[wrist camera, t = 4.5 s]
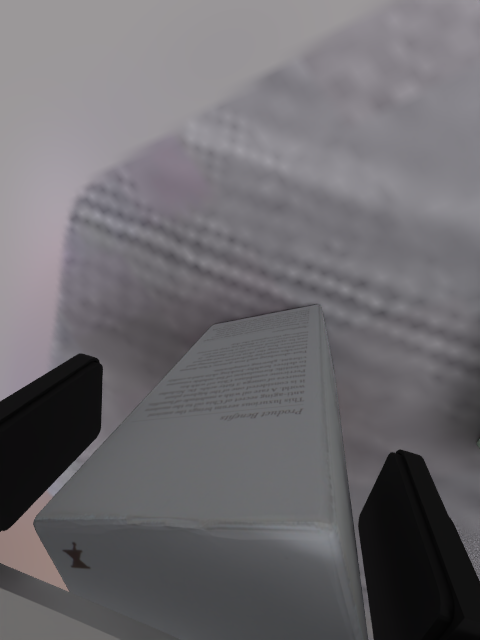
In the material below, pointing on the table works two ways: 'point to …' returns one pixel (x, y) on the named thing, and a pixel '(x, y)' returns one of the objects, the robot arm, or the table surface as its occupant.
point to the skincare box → (222, 495)
